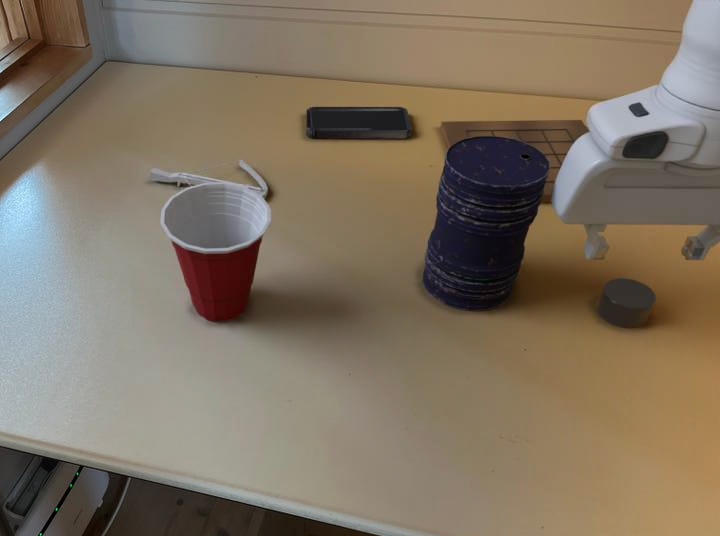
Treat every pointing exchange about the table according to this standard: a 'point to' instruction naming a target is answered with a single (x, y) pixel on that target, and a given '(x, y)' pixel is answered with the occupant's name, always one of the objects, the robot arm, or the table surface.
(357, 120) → the phone
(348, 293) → the table surface
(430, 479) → the table surface
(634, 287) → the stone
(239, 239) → the plastic cup
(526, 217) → the dark blue cylinder
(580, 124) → the board
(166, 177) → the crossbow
